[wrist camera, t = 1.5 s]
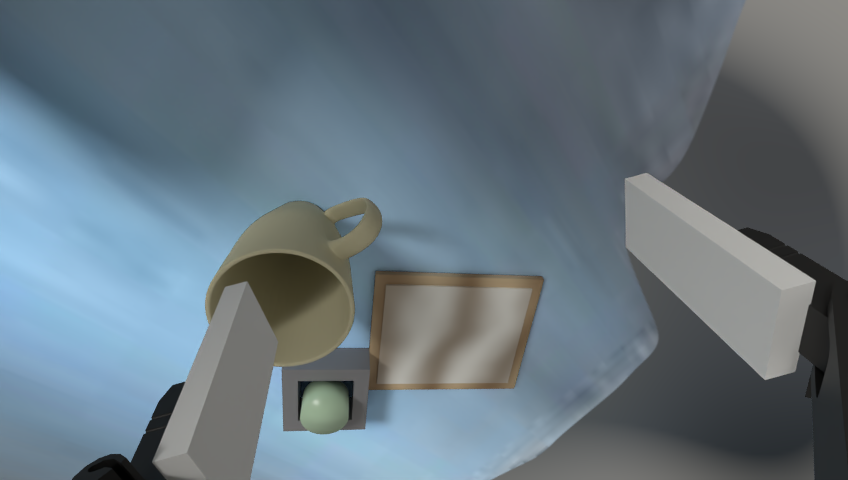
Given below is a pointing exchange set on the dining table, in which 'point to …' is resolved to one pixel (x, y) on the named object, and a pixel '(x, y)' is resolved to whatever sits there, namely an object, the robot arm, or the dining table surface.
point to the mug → (300, 274)
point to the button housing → (329, 368)
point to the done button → (325, 407)
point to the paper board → (449, 329)
